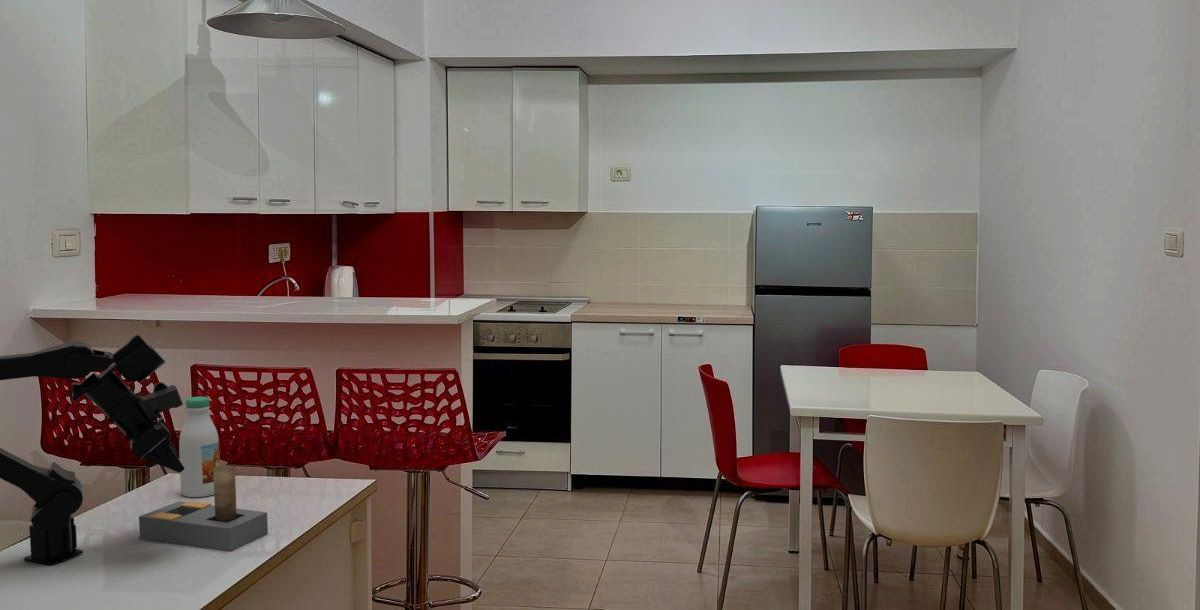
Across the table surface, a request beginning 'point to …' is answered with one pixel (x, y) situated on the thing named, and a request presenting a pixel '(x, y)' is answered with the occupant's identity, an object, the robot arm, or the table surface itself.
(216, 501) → the walnut peg
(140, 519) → the grey peg socket base
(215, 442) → the milk bottle
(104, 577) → the table surface
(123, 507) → the table surface
